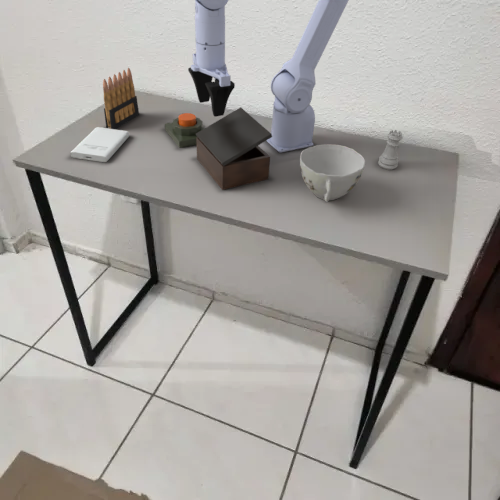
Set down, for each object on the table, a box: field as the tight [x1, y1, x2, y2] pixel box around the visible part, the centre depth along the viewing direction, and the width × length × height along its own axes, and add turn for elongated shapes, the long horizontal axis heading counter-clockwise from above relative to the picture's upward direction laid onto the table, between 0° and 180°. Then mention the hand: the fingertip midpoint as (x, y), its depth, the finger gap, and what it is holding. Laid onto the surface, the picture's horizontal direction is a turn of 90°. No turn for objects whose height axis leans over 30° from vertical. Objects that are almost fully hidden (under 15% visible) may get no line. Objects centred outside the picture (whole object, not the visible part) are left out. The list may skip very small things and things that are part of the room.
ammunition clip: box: [102, 67, 140, 130], centre depth 112 cm, size 11×2×12 cm, turn 154°
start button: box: [178, 112, 197, 127], centre depth 109 cm, size 4×4×2 cm
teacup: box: [299, 143, 366, 203], centre depth 92 cm, size 15×12×8 cm
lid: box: [196, 106, 272, 166], centre depth 96 cm, size 11×14×1 cm
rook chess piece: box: [377, 129, 403, 171], centre depth 103 cm, size 4×4×8 cm
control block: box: [164, 116, 206, 149], centre depth 111 cm, size 10×8×4 cm
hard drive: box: [69, 126, 130, 163], centre depth 105 cm, size 2×8×12 cm
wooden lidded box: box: [196, 137, 271, 191], centre depth 99 cm, size 11×14×5 cm
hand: (211, 108), depth 100 cm, fingers open, 7 cm apart
